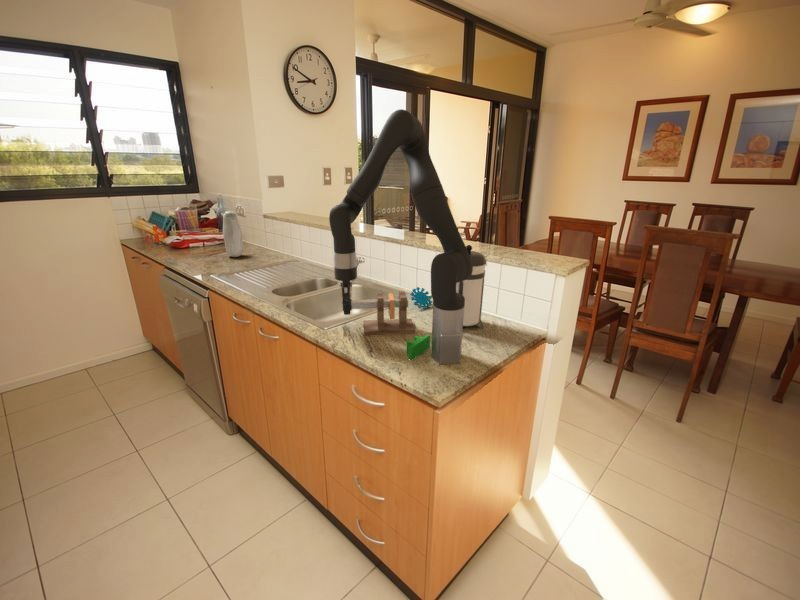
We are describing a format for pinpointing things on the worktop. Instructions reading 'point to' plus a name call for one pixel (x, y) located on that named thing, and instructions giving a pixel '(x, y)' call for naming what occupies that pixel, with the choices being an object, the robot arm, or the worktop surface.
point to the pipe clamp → (417, 346)
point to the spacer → (391, 306)
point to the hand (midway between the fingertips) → (347, 309)
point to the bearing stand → (389, 326)
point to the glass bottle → (232, 234)
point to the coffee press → (473, 289)
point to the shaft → (370, 303)
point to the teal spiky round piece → (421, 298)
